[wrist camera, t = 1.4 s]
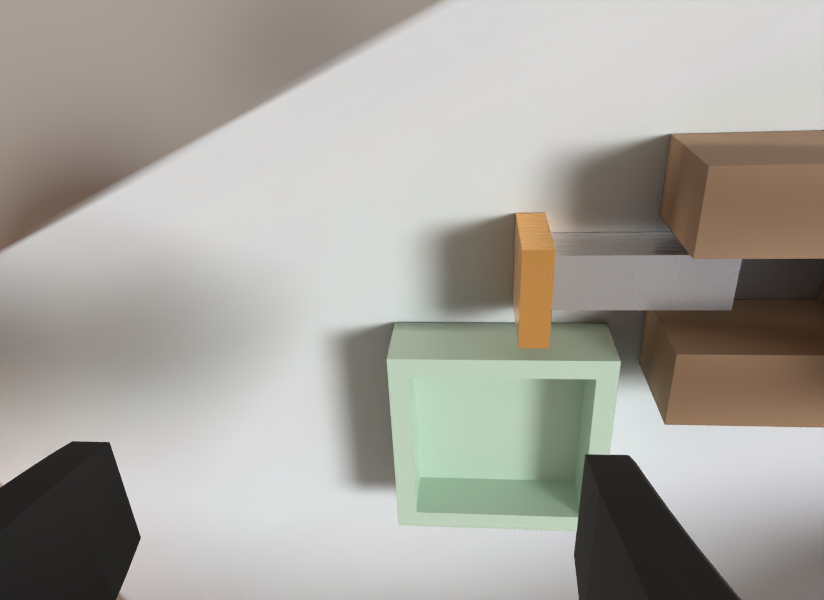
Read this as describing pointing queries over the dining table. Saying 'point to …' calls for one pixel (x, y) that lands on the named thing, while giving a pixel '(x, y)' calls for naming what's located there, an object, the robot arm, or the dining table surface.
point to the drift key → (608, 275)
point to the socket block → (749, 318)
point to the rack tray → (497, 422)
